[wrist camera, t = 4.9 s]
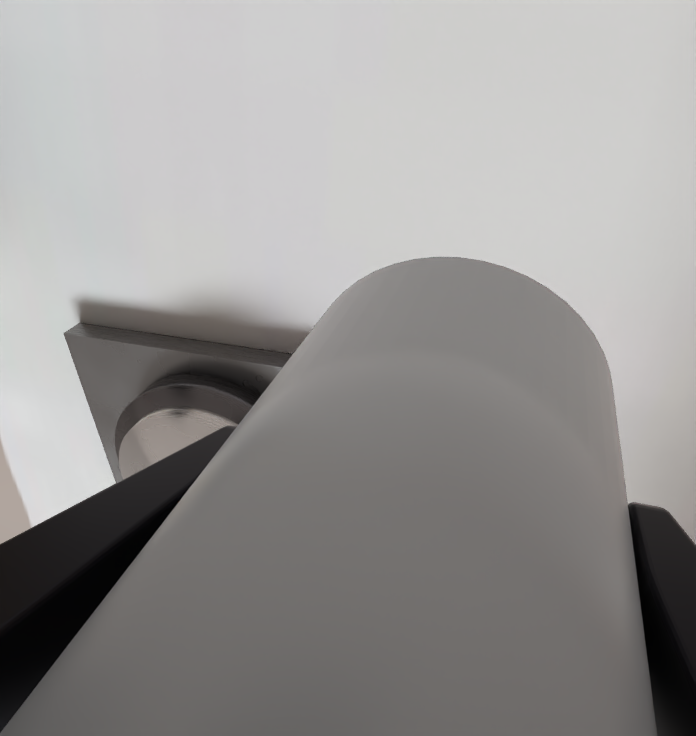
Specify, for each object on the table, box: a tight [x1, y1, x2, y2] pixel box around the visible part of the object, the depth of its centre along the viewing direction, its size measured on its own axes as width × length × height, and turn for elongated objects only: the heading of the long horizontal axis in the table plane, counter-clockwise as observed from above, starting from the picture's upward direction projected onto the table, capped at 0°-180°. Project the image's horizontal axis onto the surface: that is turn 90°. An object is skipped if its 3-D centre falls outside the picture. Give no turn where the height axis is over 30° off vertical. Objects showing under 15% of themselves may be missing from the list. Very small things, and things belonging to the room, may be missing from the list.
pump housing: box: [0, 257, 657, 736], centre depth 6 cm, size 5×5×8 cm
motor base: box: [64, 323, 293, 483], centre depth 25 cm, size 14×12×3 cm
